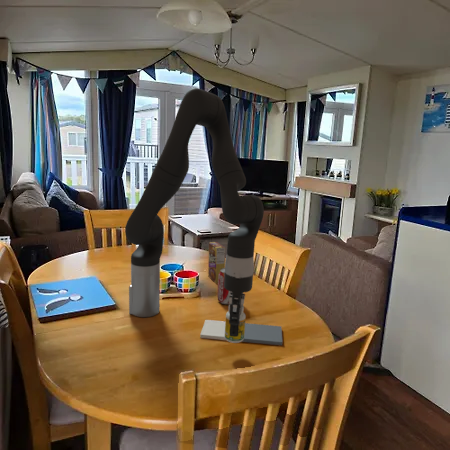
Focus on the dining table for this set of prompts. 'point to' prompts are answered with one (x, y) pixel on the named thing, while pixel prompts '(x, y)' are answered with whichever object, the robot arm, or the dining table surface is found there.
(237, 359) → the dining table surface
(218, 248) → the candy box
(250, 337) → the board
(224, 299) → the soda can
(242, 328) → the supplement bottle
